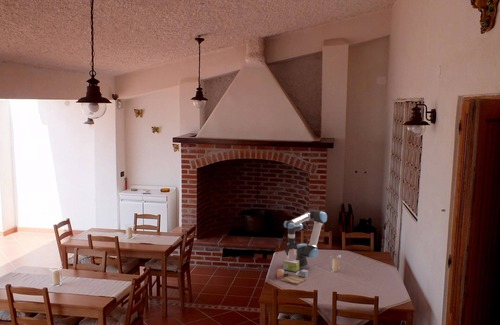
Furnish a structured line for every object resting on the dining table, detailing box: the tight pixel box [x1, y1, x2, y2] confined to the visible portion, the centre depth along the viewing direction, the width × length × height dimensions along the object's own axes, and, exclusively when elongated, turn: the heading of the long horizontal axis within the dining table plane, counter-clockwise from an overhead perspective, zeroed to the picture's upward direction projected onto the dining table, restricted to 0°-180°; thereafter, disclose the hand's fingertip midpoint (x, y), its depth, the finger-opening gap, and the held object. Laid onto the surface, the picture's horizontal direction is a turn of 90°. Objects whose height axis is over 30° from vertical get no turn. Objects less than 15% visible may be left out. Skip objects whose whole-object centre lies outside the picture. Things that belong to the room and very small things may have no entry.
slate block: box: [300, 269, 309, 278], centre depth 481 cm, size 6×6×6 cm
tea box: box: [283, 258, 300, 277], centre depth 487 cm, size 15×10×15 cm, turn 62°
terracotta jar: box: [276, 268, 285, 280], centre depth 477 cm, size 7×7×8 cm
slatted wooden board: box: [280, 275, 307, 286], centre depth 468 cm, size 16×20×2 cm
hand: (291, 256), depth 486 cm, fingers open, 13 cm apart
